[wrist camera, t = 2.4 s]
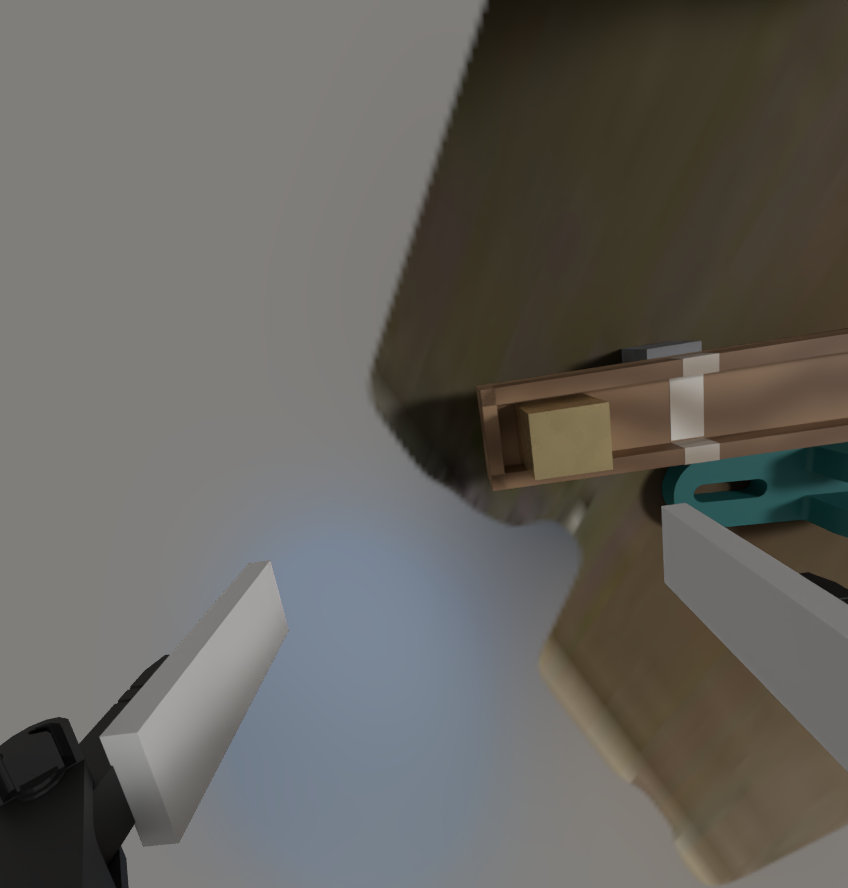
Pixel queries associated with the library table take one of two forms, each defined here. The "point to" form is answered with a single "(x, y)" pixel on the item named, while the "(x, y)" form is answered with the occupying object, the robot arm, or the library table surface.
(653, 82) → the library table surface
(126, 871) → the robot arm
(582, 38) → the library table surface
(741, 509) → the bracket
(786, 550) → the library table surface
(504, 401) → the brown long open piece
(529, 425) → the block
